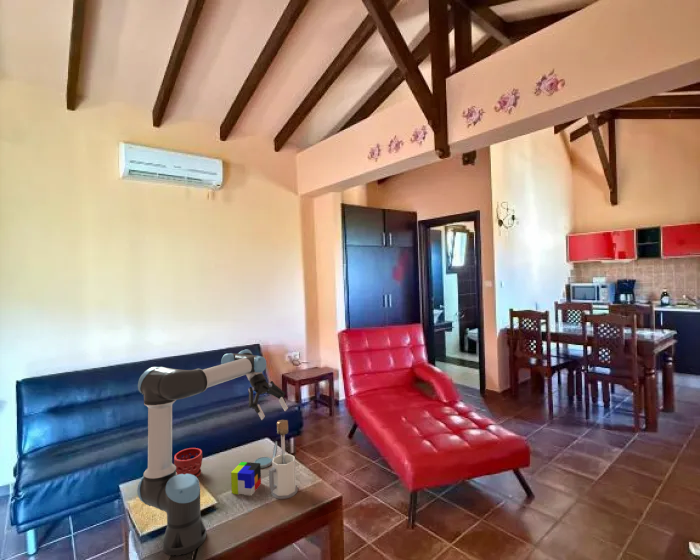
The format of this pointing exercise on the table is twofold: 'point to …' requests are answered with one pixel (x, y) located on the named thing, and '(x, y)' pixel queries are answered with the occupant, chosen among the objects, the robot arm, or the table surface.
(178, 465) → the plant pot
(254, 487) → the puzzle toy
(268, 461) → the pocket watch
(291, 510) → the table surface
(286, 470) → the jug
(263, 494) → the table surface
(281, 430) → the plunger
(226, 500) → the table surface
